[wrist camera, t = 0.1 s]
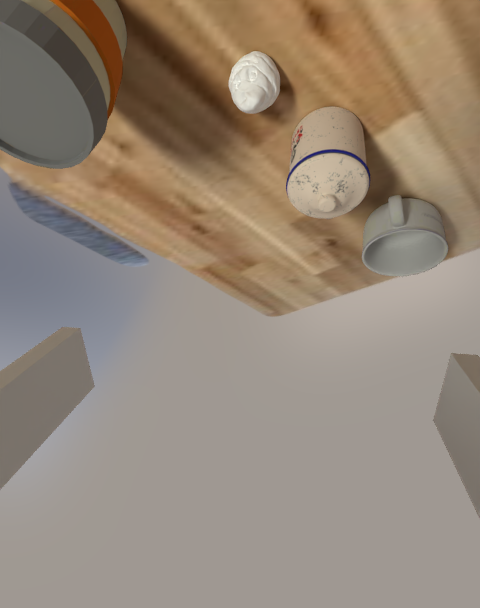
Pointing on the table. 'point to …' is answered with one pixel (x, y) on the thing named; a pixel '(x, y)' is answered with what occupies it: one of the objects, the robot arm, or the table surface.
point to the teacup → (404, 238)
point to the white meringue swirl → (254, 82)
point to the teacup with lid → (328, 164)
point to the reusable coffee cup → (58, 77)
